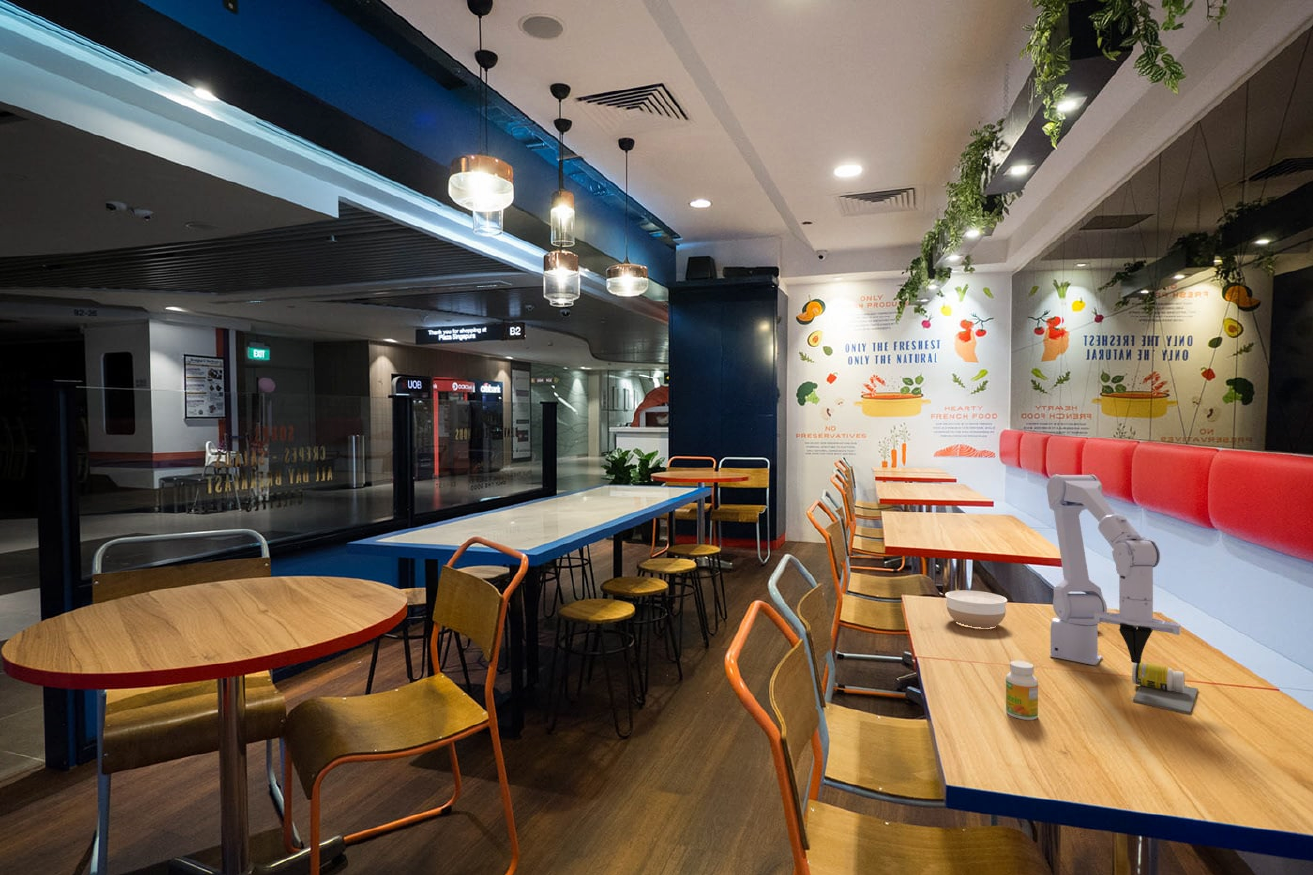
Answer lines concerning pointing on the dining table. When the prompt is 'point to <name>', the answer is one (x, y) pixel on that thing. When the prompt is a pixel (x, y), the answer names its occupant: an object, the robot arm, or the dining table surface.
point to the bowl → (976, 608)
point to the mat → (1167, 698)
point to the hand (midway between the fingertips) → (1136, 661)
